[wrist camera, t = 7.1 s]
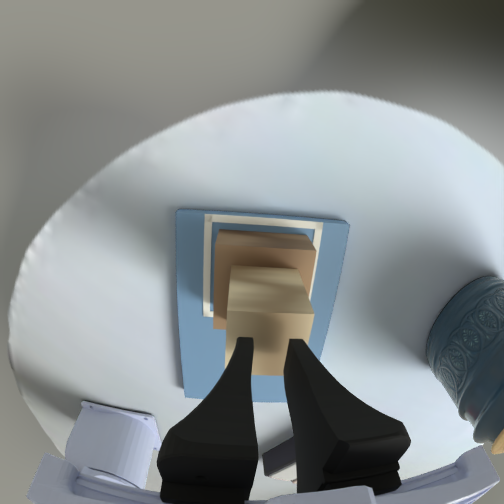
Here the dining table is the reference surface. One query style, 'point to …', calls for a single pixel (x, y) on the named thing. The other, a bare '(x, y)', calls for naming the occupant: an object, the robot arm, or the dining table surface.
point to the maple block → (267, 314)
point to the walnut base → (257, 260)
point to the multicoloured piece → (281, 462)
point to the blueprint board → (202, 291)
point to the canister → (473, 357)
